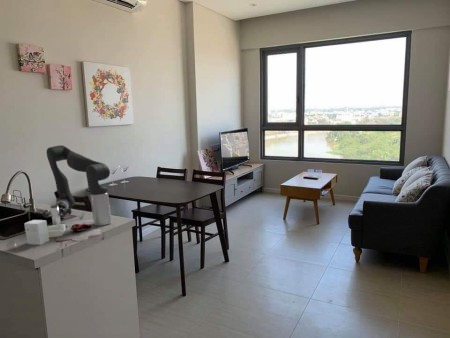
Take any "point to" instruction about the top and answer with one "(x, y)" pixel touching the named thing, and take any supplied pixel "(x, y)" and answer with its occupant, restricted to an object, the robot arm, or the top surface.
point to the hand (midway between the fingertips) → (55, 215)
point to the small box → (36, 232)
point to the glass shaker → (55, 214)
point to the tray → (56, 230)
